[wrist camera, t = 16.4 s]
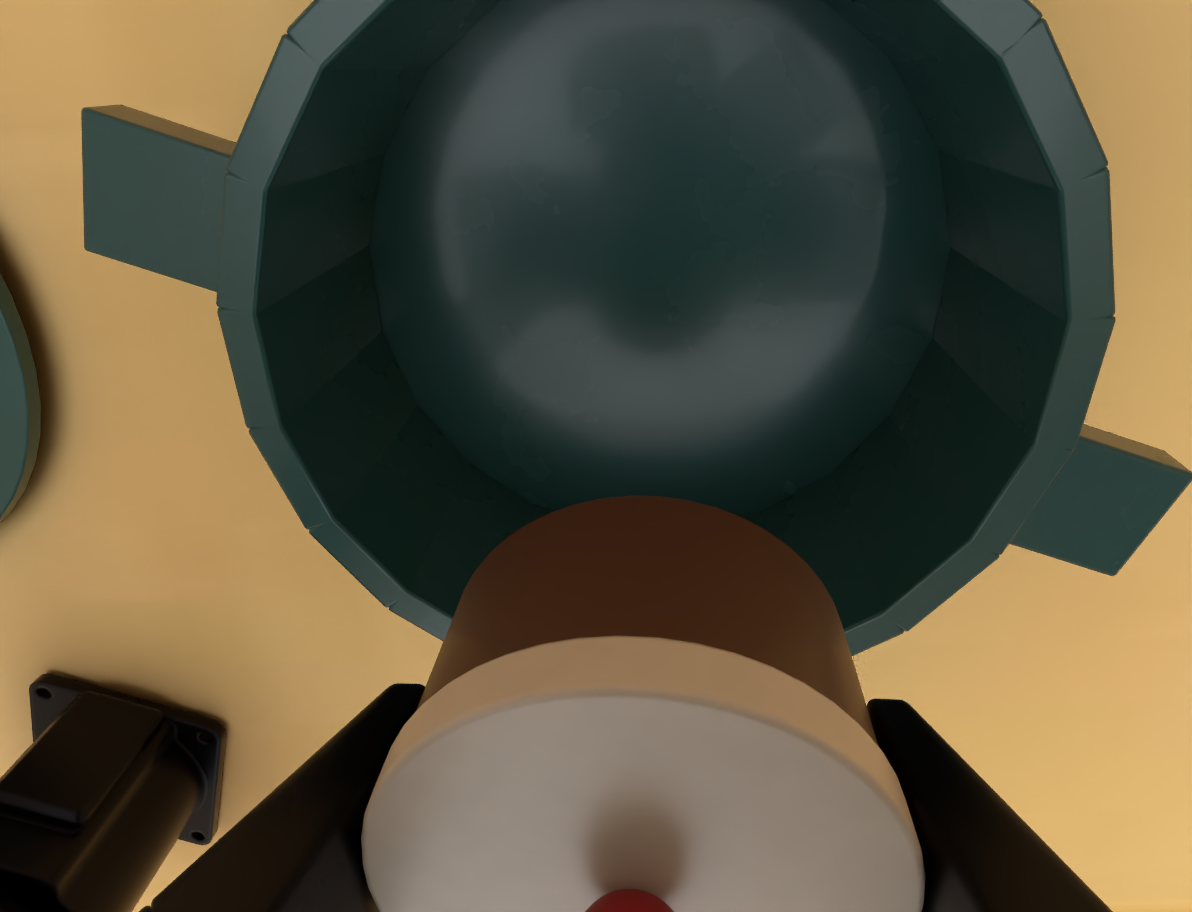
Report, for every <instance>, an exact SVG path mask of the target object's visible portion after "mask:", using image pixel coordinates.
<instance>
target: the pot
mask: <svg viewBox="0 0 1192 912" xmlns="http://www.w3.org/2000/svg"><path fill="white" fill-rule="evenodd" d="M1041 17H1042V13H1041V12H1040V11H1039V10H1038V9H1037V8H1036V7H1035V6H1034V5H1033V4H1032V3H1031V2H1030V1H1029V0H314V1H313V2H312V3H311V4H310V5H309V6H308V7H307V8H306V9H305V10H304V11H303V12H302V13H301V14H300V15H299V17H298V18H297V19H296V20H295V21H294V22H293V23H292V24H291V25H290V26H289V27H288V30H287V33H288V34H284V35H283V36H282V38H281V40H280V42H279V45H278V47H277V49H276V52H275V54H274V56H273V59H272V61H271V63H270V66H269V68H268V70H267V73H266V75H265V77H264V80H263V82H262V85H261V87H260V89H259V92H258V94H257V96H256V99H255V101H254V103H253V106H252V108H251V110H250V113H249V115H248V117H247V120H246V122H245V124H244V127H243V129H242V132H241V134H240V136H239V139H238V141H237V143H235V142H232V141H229V140H226V139H223V138H220V137H217V136H214V135H211V134H208V133H205V132H202V131H199V130H196V129H193V128H190V127H187V126H184V125H181V124H178V123H175V122H172V121H169V120H166V119H163V118H160V117H157V116H154V115H151V114H148V113H145V112H142V111H139V110H136V109H133V108H130V107H127V106H124V105H110V106H97V107H85V108H83V109H82V158H83V205H84V247H85V250H87V251H90V252H93V253H96V254H99V255H102V256H105V257H108V258H112V259H115V260H118V261H121V262H124V263H127V264H130V265H134V266H137V267H140V268H143V269H146V270H149V271H152V272H156V273H159V274H162V275H165V276H168V277H171V278H174V279H178V280H181V281H184V282H187V283H190V284H193V285H196V286H200V287H203V288H206V289H209V290H212V291H215V292H217V302H216V304H217V306H218V307H219V308H218V316H219V320H220V324H221V328H222V332H223V336H224V340H225V344H226V348H227V352H228V356H229V360H230V364H231V368H232V372H233V376H234V380H235V384H236V388H237V392H238V396H239V399H240V403H241V407H242V411H243V415H244V419H245V423H246V426H247V428H250V429H249V434H250V435H251V437H252V439H253V440H254V442H255V444H256V445H257V447H258V449H259V451H260V452H261V454H262V456H263V457H264V459H265V461H266V462H267V464H268V466H269V467H270V469H271V471H272V473H273V474H274V476H275V478H276V479H277V481H278V483H279V484H280V486H281V488H282V489H283V491H284V493H285V494H286V496H287V498H288V500H289V501H290V503H291V505H292V506H293V508H294V510H295V511H296V513H297V515H298V516H299V518H300V520H301V521H302V523H303V525H304V527H305V528H306V529H309V533H310V534H311V535H312V536H313V537H314V538H315V539H316V540H317V541H318V542H319V543H320V544H321V545H322V546H323V547H324V548H325V549H326V550H327V551H328V552H329V553H330V554H331V555H332V556H333V557H334V558H335V559H336V560H337V561H338V562H340V563H341V564H342V565H343V566H344V567H345V568H346V569H347V570H348V571H349V572H350V573H351V574H352V575H353V576H354V577H355V578H356V579H357V580H358V581H359V582H360V583H361V584H362V585H363V586H364V587H365V588H366V589H367V590H368V591H369V592H370V593H371V594H372V595H373V596H375V597H376V598H377V599H378V600H379V601H380V602H381V603H382V604H383V605H384V606H385V607H389V610H390V611H391V612H393V613H395V614H397V615H398V616H400V617H402V618H404V619H405V620H407V621H409V622H411V623H412V624H414V625H416V626H417V627H419V628H421V629H423V630H424V631H426V632H428V633H430V634H431V635H433V636H435V637H437V638H438V639H440V640H442V641H444V639H445V637H446V634H447V632H448V629H449V627H450V624H451V622H452V619H453V616H454V614H455V611H456V609H457V606H458V604H459V601H460V599H461V596H462V594H463V591H464V589H465V587H466V585H467V583H468V582H469V580H470V578H471V577H472V575H473V573H474V572H475V570H476V569H477V568H478V566H479V565H480V564H481V563H482V562H483V560H484V559H485V558H486V557H487V556H488V554H489V553H490V552H491V551H492V550H494V549H495V548H496V547H497V546H498V545H499V544H500V543H501V542H503V541H504V540H505V539H506V538H507V537H509V536H510V535H512V534H513V533H515V532H516V531H518V530H519V529H521V528H522V527H524V526H525V525H527V524H529V523H530V522H532V521H535V520H537V519H539V518H541V517H543V516H545V515H547V514H549V513H551V512H554V511H557V510H560V509H563V508H566V507H569V506H572V505H575V504H578V503H582V502H587V501H592V500H597V499H602V498H610V497H622V496H662V497H669V498H676V499H683V500H690V501H693V502H697V503H701V504H705V505H709V506H713V507H716V508H719V509H722V510H724V511H727V512H729V513H732V514H735V515H737V516H740V517H742V518H744V519H746V520H748V521H750V522H752V523H753V524H755V525H757V526H759V527H761V528H763V529H765V530H766V531H768V532H769V533H771V534H772V535H773V536H775V537H776V538H778V539H779V540H780V541H782V542H783V543H785V544H786V545H788V546H789V547H790V548H791V549H792V550H793V551H794V552H795V553H797V554H798V555H799V556H800V557H801V558H802V559H803V560H804V561H805V562H806V563H807V564H808V565H809V566H810V567H811V569H812V570H813V571H814V573H815V574H816V575H817V576H818V578H819V579H820V580H821V581H822V583H823V584H824V586H825V588H826V589H827V591H828V593H829V595H830V596H831V598H832V600H833V602H834V604H835V607H836V609H837V612H838V615H839V618H840V620H841V623H842V626H843V630H844V633H845V636H846V640H847V643H848V646H849V650H850V653H851V656H853V655H856V654H858V653H860V652H862V651H865V650H867V649H869V648H871V647H873V646H876V645H878V644H880V643H882V642H885V641H887V640H889V639H891V638H893V637H896V636H898V635H900V634H902V633H903V632H904V631H909V630H910V629H911V628H912V627H914V626H915V625H916V624H917V623H919V622H920V621H921V620H922V619H924V618H925V617H926V616H927V615H928V614H930V613H931V612H932V611H933V610H935V609H936V608H937V607H938V606H940V605H941V604H942V603H943V602H945V601H946V600H947V599H948V598H950V597H951V596H952V595H953V594H954V593H956V592H957V591H958V590H959V589H961V588H962V587H963V586H964V585H966V584H967V583H968V582H969V581H971V580H972V579H973V578H974V577H975V576H977V575H978V574H979V573H980V572H982V571H983V570H984V569H985V568H987V567H988V566H989V565H990V564H992V563H993V562H994V561H995V560H997V559H998V558H999V554H1002V553H1003V551H1004V550H1005V549H1006V547H1007V546H1008V544H1012V545H1015V546H1019V547H1022V548H1025V549H1028V550H1031V551H1034V552H1037V553H1041V554H1044V555H1047V556H1050V557H1053V558H1056V559H1059V560H1063V561H1066V562H1069V563H1072V564H1075V565H1078V566H1081V567H1085V568H1088V569H1091V570H1094V571H1097V572H1100V573H1103V574H1107V575H1110V576H1114V575H1116V574H1117V573H1118V572H1119V570H1120V569H1121V568H1122V567H1123V565H1124V564H1125V563H1126V562H1127V561H1128V559H1129V558H1130V557H1131V556H1132V554H1133V553H1134V552H1135V551H1136V549H1137V548H1138V547H1139V546H1140V544H1141V543H1142V542H1143V541H1144V539H1145V538H1146V537H1147V536H1148V534H1149V533H1150V532H1151V531H1152V529H1153V528H1154V527H1155V526H1156V524H1157V523H1158V522H1159V521H1160V519H1161V518H1162V517H1163V516H1164V515H1165V513H1166V512H1167V511H1168V510H1169V508H1170V507H1171V506H1172V505H1173V503H1174V502H1175V501H1176V500H1177V498H1178V497H1179V496H1180V495H1181V493H1182V492H1183V491H1184V490H1185V488H1186V487H1187V486H1188V485H1189V483H1190V482H1191V481H1192V472H1191V471H1189V470H1188V469H1187V468H1186V467H1184V466H1183V465H1182V464H1181V463H1179V462H1178V461H1177V460H1175V459H1174V458H1173V457H1172V456H1170V455H1169V454H1168V453H1167V452H1165V451H1163V450H1160V449H1157V448H1154V447H1151V446H1148V445H1145V444H1142V443H1139V442H1136V441H1133V440H1130V439H1127V438H1124V437H1121V436H1118V435H1115V434H1112V433H1109V432H1106V431H1103V430H1100V429H1097V428H1094V427H1091V426H1088V425H1085V424H1083V423H1084V419H1085V416H1086V413H1087V410H1088V407H1089V403H1090V400H1091V397H1092V394H1093V391H1094V387H1095V384H1096V381H1097V378H1098V375H1099V371H1100V368H1101V365H1102V362H1103V358H1104V355H1105V352H1106V349H1107V346H1108V342H1109V339H1110V336H1111V333H1112V330H1113V326H1114V323H1115V317H1114V316H1113V315H1114V314H1115V298H1114V273H1113V249H1112V224H1111V200H1110V175H1109V170H1108V168H1107V167H1106V166H1107V165H1108V161H1107V158H1106V156H1105V154H1104V152H1103V149H1102V147H1101V145H1100V142H1099V140H1098V138H1097V136H1096V133H1095V131H1094V129H1093V126H1092V124H1091V122H1090V120H1089V117H1088V115H1087V113H1086V111H1085V108H1084V106H1083V104H1082V101H1081V99H1080V97H1079V95H1078V92H1077V90H1076V88H1075V85H1074V83H1073V81H1072V79H1071V76H1070V74H1069V72H1068V70H1067V67H1066V65H1065V63H1064V60H1063V58H1062V56H1061V54H1060V51H1059V49H1058V47H1057V44H1056V42H1055V40H1054V38H1053V35H1052V33H1051V31H1050V29H1049V26H1048V24H1047V22H1046V20H1045V19H1044V18H1041Z"/></svg>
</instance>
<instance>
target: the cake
mask: <svg viewBox="0 0 1192 912" xmlns="http://www.w3.org/2000/svg"><path fill="white" fill-rule="evenodd" d="M361 845H362V862H363V869H364V872H365V876H366V880H367V884H368V888H369V890H370V892H371V894H372V897H373V899H374V901H375V903H376V905H377V908H378V909H379V911H380V912H922V909H923V904H924V893H925V878H926V875H925V869H924V862H923V855H922V850H921V847H920V844H919V840H918V837H917V834H916V831H915V828H914V824H913V821H912V818H911V815H910V812H909V809H908V805H907V802H906V799H905V796H904V794H903V791H902V788H901V786H900V783H899V780H898V778H897V775H896V773H895V772H894V770H893V768H892V767H891V765H890V763H889V762H888V760H887V758H886V757H885V755H884V753H883V752H882V750H881V749H880V748H879V747H878V743H877V740H876V737H875V733H874V730H873V727H872V723H871V720H870V717H869V713H868V710H867V707H866V703H865V700H864V696H863V693H862V690H861V686H860V683H859V680H858V676H857V673H856V670H855V666H854V663H853V660H852V656H851V653H850V650H849V646H848V643H847V640H846V636H845V633H844V630H843V626H842V623H841V620H840V618H839V615H838V612H837V609H836V607H835V604H834V602H833V600H832V598H831V596H830V595H829V593H828V591H827V589H826V588H825V586H824V584H823V583H822V581H821V580H820V579H819V578H818V576H817V575H816V574H815V573H814V571H813V570H812V569H811V567H810V566H809V565H808V564H807V563H806V562H805V561H804V560H803V559H802V558H801V557H800V556H799V555H798V554H797V553H795V552H794V551H793V550H792V549H791V548H790V547H789V546H788V545H786V544H785V543H783V542H782V541H780V540H779V539H778V538H776V537H775V536H773V535H772V534H771V533H769V532H768V531H766V530H765V529H763V528H761V527H759V526H757V525H755V524H753V523H752V522H750V521H748V520H746V519H744V518H742V517H740V516H737V515H735V514H732V513H729V512H727V511H724V510H722V509H719V508H716V507H713V506H709V505H705V504H701V503H697V502H693V501H690V500H683V499H676V498H669V497H662V496H622V497H610V498H602V499H597V500H592V501H587V502H582V503H578V504H575V505H572V506H569V507H566V508H563V509H560V510H557V511H554V512H551V513H549V514H547V515H545V516H543V517H541V518H539V519H537V520H535V521H532V522H530V523H529V524H527V525H525V526H524V527H522V528H521V529H519V530H518V531H516V532H515V533H513V534H512V535H510V536H509V537H507V538H506V539H505V540H504V541H503V542H501V543H500V544H499V545H498V546H497V547H496V548H495V549H494V550H492V551H491V552H490V553H489V554H488V556H487V557H486V558H485V559H484V560H483V562H482V563H481V564H480V565H479V566H478V568H477V569H476V570H475V572H474V573H473V575H472V577H471V578H470V580H469V582H468V583H467V585H466V587H465V589H464V591H463V594H462V596H461V599H460V601H459V604H458V606H457V609H456V611H455V614H454V616H453V619H452V622H451V624H450V627H449V629H448V632H447V634H446V637H445V639H444V642H443V644H442V647H441V649H440V652H439V654H438V657H437V659H436V662H435V665H434V667H433V670H432V672H431V675H430V677H429V680H428V682H427V685H426V687H425V690H424V692H423V695H422V697H421V700H420V702H419V705H418V707H417V710H416V712H415V713H414V714H413V715H412V717H411V718H410V719H409V720H408V721H407V722H406V723H405V724H404V726H403V728H402V729H401V731H400V733H399V734H398V736H397V737H396V739H395V741H394V742H393V744H392V746H391V748H390V750H389V753H388V755H387V758H386V760H385V763H384V765H383V767H382V770H381V772H380V775H379V777H378V780H377V782H376V784H375V787H374V789H373V792H372V795H371V797H370V800H369V803H368V805H367V808H366V811H365V813H364V820H363V827H362V834H361Z"/></svg>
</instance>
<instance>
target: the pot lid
mask: <svg viewBox="0 0 1192 912" xmlns="http://www.w3.org/2000/svg"><path fill="white" fill-rule="evenodd" d="M40 421H41V403H40V395H39V387H38V380H37V372H36V368H35V364H34V360H33V356H32V353H31V349H30V345H29V341H28V337H27V334H26V331H25V329H24V326H23V324H22V321H21V318H20V316H19V313H18V311H17V308H16V306H15V303H14V301H13V298H12V295H11V293H10V291H9V289H8V288H7V286H6V284H5V282H4V280H3V278H2V276H1V274H0V522H1V521H2V520H3V519H4V518H5V517H6V516H7V515H8V514H9V513H10V512H11V511H12V509H13V508H14V506H15V505H16V503H17V501H18V500H19V498H20V497H21V495H22V494H23V492H24V491H25V489H26V486H27V483H28V481H29V478H30V476H31V473H32V471H33V468H34V466H35V461H36V456H37V451H38V446H39V440H40Z"/></svg>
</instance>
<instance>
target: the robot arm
mask: <svg viewBox="0 0 1192 912" xmlns="http://www.w3.org/2000/svg"><path fill="white" fill-rule="evenodd" d="M424 690H425V686H423V685H421V684H398V683H397V684H393V685H391V686H389V687H388V688H387V689H386V690H385V691H384V692H382V693H381V694H380V695H379V696H378V697H377V698H376V699H375V700H374V701H372V702H371V703H370V704H369V705H368V706H367V707H366V708H365V709H364V710H362V711H361V712H360V713H359V714H358V715H357V716H356V717H355V718H354V719H352V720H351V721H350V722H349V723H348V724H347V725H346V726H345V727H344V728H342V729H341V730H340V731H339V732H338V733H337V734H336V735H335V736H334V737H332V738H331V739H330V740H329V741H328V742H327V743H326V744H325V745H324V746H323V747H321V748H320V749H319V750H318V751H317V752H316V753H315V754H314V755H313V756H311V757H310V758H309V759H308V760H307V761H306V762H305V763H304V764H303V765H301V766H300V767H299V768H298V769H297V770H296V771H295V772H294V773H293V774H291V775H290V776H289V777H288V778H287V779H286V780H285V781H284V782H283V783H281V784H280V785H279V786H278V787H277V788H276V789H275V790H274V791H273V792H271V793H270V794H269V795H268V796H267V797H266V798H265V799H264V800H263V801H262V802H260V803H259V804H258V805H257V806H256V807H255V808H254V809H253V810H252V811H250V812H249V813H248V814H247V815H246V816H245V817H244V818H243V819H242V820H240V821H239V822H238V823H237V824H236V825H235V826H234V827H233V828H232V829H230V830H229V831H228V832H227V833H226V834H225V835H224V836H223V837H222V838H220V839H219V840H218V841H217V842H216V843H215V844H214V845H213V846H212V847H210V848H209V849H208V850H207V851H206V852H205V853H204V854H203V855H202V856H200V857H199V858H198V859H197V860H196V861H195V862H194V863H193V864H192V865H191V866H189V867H188V868H187V869H186V870H185V871H184V872H183V873H182V874H181V875H179V876H178V877H177V878H176V879H175V880H174V881H173V882H172V883H171V884H169V885H168V886H167V887H166V888H165V889H164V890H163V891H162V892H161V893H159V894H158V895H157V896H156V897H155V898H154V899H153V901H152V903H151V907H150V906H145V907H144V908H142V909H141V910H140V911H139V912H380V911H379V909H378V908H377V905H376V903H375V901H374V899H373V897H372V894H371V892H370V890H369V888H368V884H367V880H366V876H365V872H364V869H363V862H362V845H361V834H362V827H363V820H364V813H365V811H366V808H367V805H368V803H369V800H370V797H371V795H372V792H373V789H374V787H375V784H376V782H377V780H378V777H379V775H380V772H381V770H382V767H383V765H384V763H385V760H386V758H387V755H388V753H389V750H390V748H391V746H392V744H393V742H394V741H395V739H396V737H397V736H398V734H399V733H400V731H401V729H402V728H403V726H404V724H405V723H406V722H407V721H408V720H409V719H410V718H411V717H412V715H413V714H414V713H415V712H416V710H417V707H418V705H419V702H420V700H421V697H422V695H423V692H424ZM29 694H30V707H31V719H32V732H33V744H32V745H31V746H30V747H29V748H28V749H27V750H26V751H25V752H24V753H23V754H22V755H21V757H20V758H19V759H18V760H17V761H16V762H15V763H14V764H13V765H12V766H11V767H10V768H9V769H8V770H7V772H6V773H5V774H4V775H3V776H2V777H1V778H0V912H132V911H133V909H134V907H135V906H136V904H137V903H138V901H139V900H140V898H141V896H142V895H143V893H144V892H145V890H146V888H147V887H148V885H149V884H150V882H151V881H152V879H153V877H154V876H155V874H156V873H157V871H158V869H159V868H160V866H161V865H162V863H163V862H164V860H165V858H166V857H167V855H168V854H169V852H170V850H171V849H172V847H173V846H174V844H175V843H176V841H177V839H180V840H184V841H187V842H191V843H195V844H199V845H206V844H208V843H210V842H211V840H212V838H213V837H214V835H215V833H216V831H217V824H218V814H219V804H220V794H221V785H222V775H223V765H224V755H225V745H226V735H227V733H226V729H225V727H224V726H223V725H222V724H221V723H219V722H218V721H215V720H213V719H209V718H206V717H202V716H198V715H195V714H191V713H188V712H184V711H181V710H177V709H174V708H170V707H166V706H163V705H159V704H156V703H152V702H149V701H145V700H142V699H138V698H134V697H131V696H127V695H124V694H120V693H117V692H113V691H109V690H106V689H102V688H99V687H95V686H92V685H88V684H85V683H81V682H77V681H74V680H70V679H67V678H63V677H60V676H56V675H53V674H42V675H41V676H39V677H38V678H37V679H36V680H35V681H34V682H33V683H32V684H31V685H30V688H29ZM866 707H867V710H868V713H869V717H870V720H871V723H872V727H873V730H874V733H875V737H876V740H877V743H878V747H879V748H880V749H881V750H882V752H883V753H884V755H885V757H886V758H887V760H888V762H889V763H890V765H891V767H892V768H893V770H894V772H895V773H896V775H897V778H898V780H899V783H900V786H901V788H902V791H903V794H904V796H905V799H906V802H907V805H908V809H909V812H910V815H911V818H912V821H913V824H914V828H915V831H916V834H917V837H918V840H919V844H920V847H921V850H922V855H923V862H924V869H925V875H926V878H925V893H924V904H923V909H922V912H1112V911H1111V910H1110V909H1109V907H1108V906H1107V905H1106V904H1105V903H1104V902H1103V901H1102V900H1101V899H1100V898H1099V897H1098V896H1097V895H1096V894H1095V893H1094V892H1093V891H1092V890H1091V889H1090V888H1089V887H1088V886H1087V885H1086V884H1085V883H1084V882H1083V881H1082V880H1081V879H1080V878H1079V877H1078V876H1077V875H1076V874H1075V873H1074V872H1073V871H1072V870H1071V869H1070V868H1069V867H1068V866H1067V865H1066V864H1065V863H1064V862H1063V861H1062V860H1061V859H1060V858H1059V856H1058V855H1057V854H1056V853H1055V852H1054V851H1053V850H1052V849H1051V848H1050V847H1049V846H1048V845H1047V844H1046V843H1045V842H1044V841H1043V840H1042V839H1041V838H1040V837H1039V836H1038V835H1037V834H1036V833H1035V832H1034V831H1033V830H1032V829H1031V828H1030V827H1029V826H1028V825H1027V824H1026V823H1025V822H1024V821H1023V820H1022V819H1021V818H1020V817H1019V816H1018V815H1017V814H1016V813H1015V812H1014V811H1013V810H1012V809H1011V808H1010V806H1009V805H1008V804H1007V803H1006V802H1005V801H1004V800H1003V799H1002V798H1001V797H1000V796H999V795H998V794H997V793H996V792H995V791H994V790H993V789H992V788H991V787H990V786H989V785H988V784H987V783H986V782H985V781H984V780H983V779H982V778H981V777H980V776H979V775H978V774H977V773H976V772H975V771H974V770H973V769H972V768H971V767H970V766H969V765H968V764H967V763H966V762H965V761H964V760H963V759H962V758H961V757H960V755H959V754H958V753H957V752H956V751H955V750H954V749H953V748H952V747H951V746H950V745H949V744H948V743H947V742H946V741H945V740H944V739H943V738H942V737H941V736H940V735H939V734H938V733H937V732H936V731H935V730H934V729H933V728H932V727H931V726H930V725H929V724H928V723H927V722H926V721H925V720H924V719H923V718H922V717H921V716H920V715H919V714H918V713H917V712H916V711H915V710H914V709H913V708H912V707H911V706H910V705H909V704H908V703H907V702H905V701H903V700H893V699H872V700H870V701H869V702H868V704H867V706H866Z"/></svg>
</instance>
